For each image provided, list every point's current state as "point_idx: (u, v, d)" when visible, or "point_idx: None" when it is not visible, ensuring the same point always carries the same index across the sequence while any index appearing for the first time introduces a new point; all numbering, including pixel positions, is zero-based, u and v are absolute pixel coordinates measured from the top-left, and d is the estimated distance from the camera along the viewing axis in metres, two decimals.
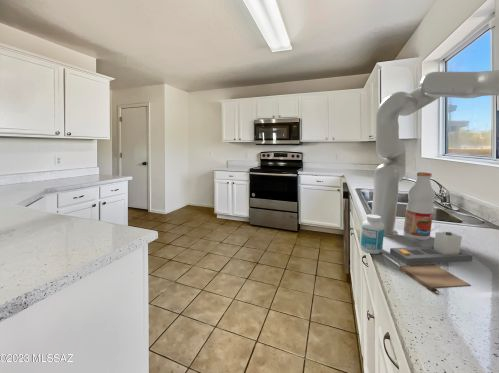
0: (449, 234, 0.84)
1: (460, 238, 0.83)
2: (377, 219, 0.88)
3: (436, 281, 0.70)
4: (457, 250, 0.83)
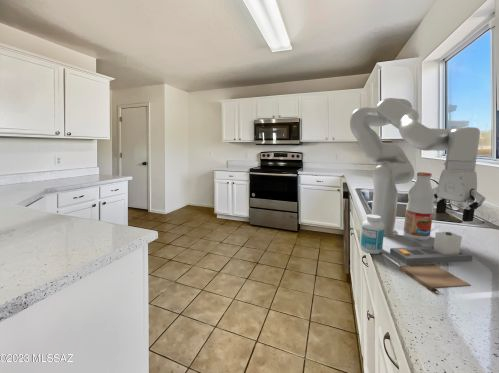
0: (449, 234, 0.84)
1: (460, 238, 0.83)
2: (377, 219, 0.88)
3: (436, 281, 0.70)
4: (457, 250, 0.83)
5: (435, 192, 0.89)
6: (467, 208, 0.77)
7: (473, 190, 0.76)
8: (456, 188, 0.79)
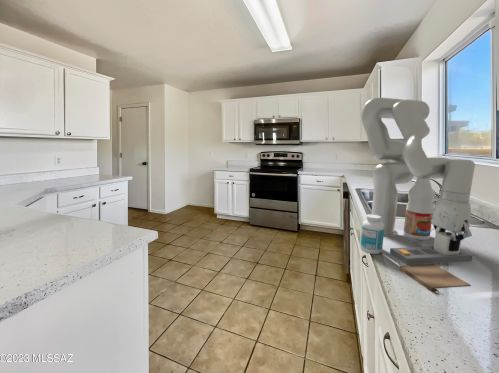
0: (449, 234, 0.84)
1: None
2: (377, 219, 0.88)
3: (436, 281, 0.70)
4: None
5: (434, 223, 0.89)
6: (453, 239, 0.81)
7: (465, 223, 0.79)
8: (450, 218, 0.81)
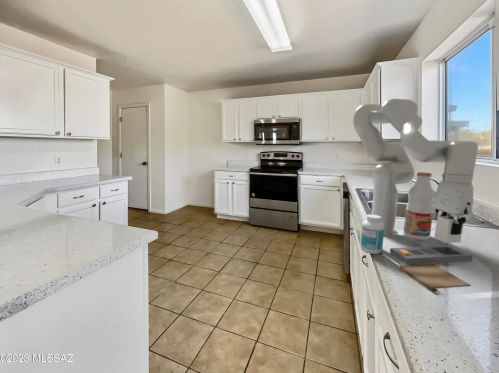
0: (451, 217, 0.83)
1: None
2: (377, 219, 0.88)
3: (436, 281, 0.70)
4: None
5: (436, 208, 0.89)
6: (455, 222, 0.81)
7: (468, 206, 0.78)
8: (452, 201, 0.80)
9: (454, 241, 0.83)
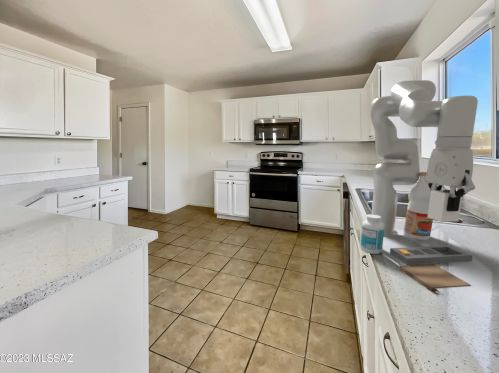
0: (447, 191, 0.69)
1: None
2: (377, 219, 0.88)
3: (436, 281, 0.70)
4: None
5: (428, 182, 0.74)
6: (452, 195, 0.66)
7: (466, 174, 0.64)
8: (448, 170, 0.66)
9: (451, 219, 0.68)
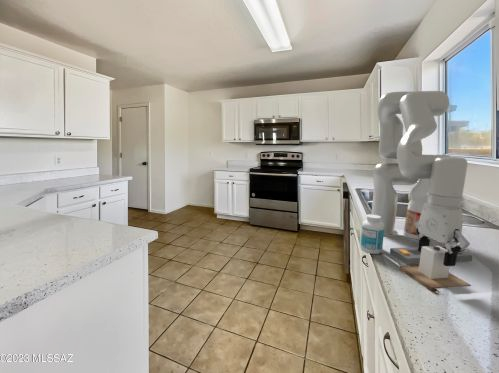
0: (437, 249, 0.71)
1: None
2: (377, 219, 0.88)
3: (436, 281, 0.70)
4: (446, 267, 0.71)
5: (417, 227, 0.78)
6: (449, 251, 0.67)
7: (457, 231, 0.65)
8: (438, 227, 0.68)
9: (440, 276, 0.71)
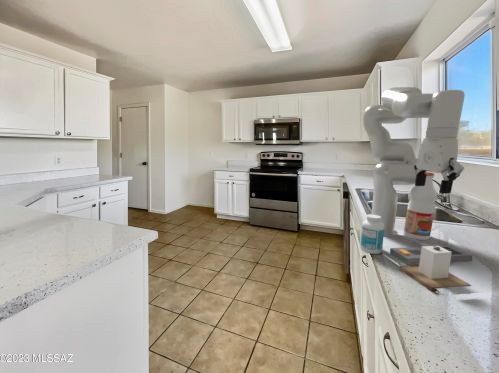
0: (437, 249, 0.71)
1: (450, 254, 0.70)
2: (377, 219, 0.88)
3: (436, 281, 0.70)
4: (446, 267, 0.71)
5: (415, 163, 0.83)
6: (445, 179, 0.71)
7: (452, 159, 0.70)
8: (435, 158, 0.73)
9: (440, 276, 0.71)
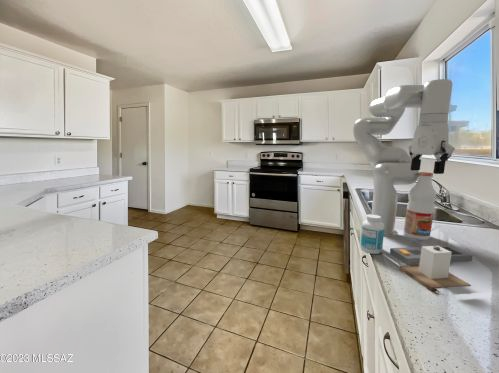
0: (437, 249, 0.71)
1: (450, 254, 0.70)
2: (377, 219, 0.88)
3: (436, 281, 0.70)
4: (446, 267, 0.71)
5: (410, 150, 0.90)
6: (438, 160, 0.77)
7: (444, 142, 0.77)
8: (428, 141, 0.79)
9: (440, 276, 0.71)
